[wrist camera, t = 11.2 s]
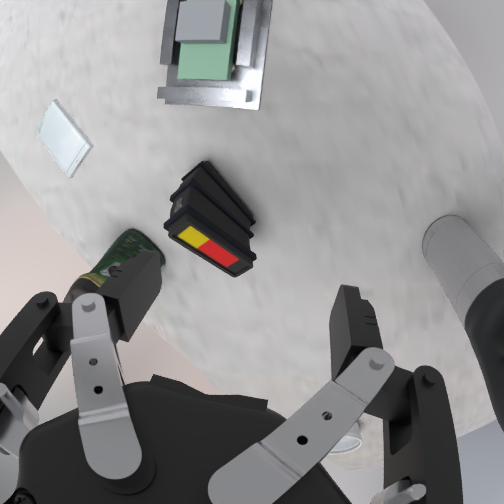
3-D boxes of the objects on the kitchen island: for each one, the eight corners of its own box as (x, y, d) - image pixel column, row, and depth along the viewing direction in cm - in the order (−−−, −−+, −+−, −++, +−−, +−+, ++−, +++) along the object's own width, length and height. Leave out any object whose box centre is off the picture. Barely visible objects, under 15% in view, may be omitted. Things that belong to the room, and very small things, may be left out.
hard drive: (34, 133, 41) (68, 179, 44) (52, 99, 37) (89, 146, 41) (39, 132, 42) (73, 176, 46) (58, 98, 39) (95, 144, 42)
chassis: (182, -26, 27) (167, -39, 22) (275, -28, 26) (272, -44, 21) (167, 103, 37) (149, 106, 33) (259, 109, 36) (252, 111, 32)
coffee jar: (112, 247, 51) (51, 310, 35) (132, 220, 48) (65, 283, 32) (149, 283, 54) (101, 354, 38) (173, 260, 50) (122, 335, 34)
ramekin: (350, 435, 72) (351, 455, 66) (307, 433, 73) (306, 453, 67) (368, 414, 66) (370, 436, 60) (320, 411, 67) (320, 434, 61)
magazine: (191, 142, 38) (186, 216, 29) (251, 195, 47) (267, 272, 37) (172, 159, 40) (162, 236, 30) (233, 208, 48) (243, 285, 39)
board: (195, -17, 25) (181, -30, 21) (243, -19, 25) (234, -33, 20) (183, 79, 32) (167, 78, 28) (230, 81, 32) (219, 78, 27)
